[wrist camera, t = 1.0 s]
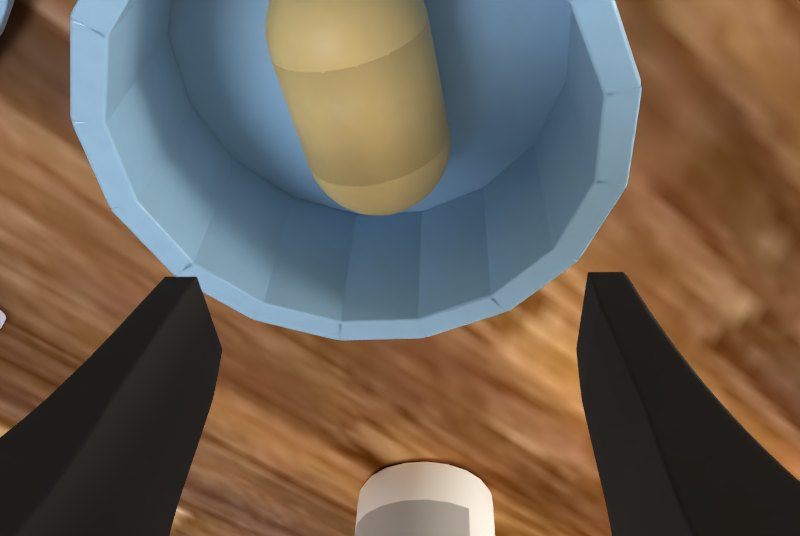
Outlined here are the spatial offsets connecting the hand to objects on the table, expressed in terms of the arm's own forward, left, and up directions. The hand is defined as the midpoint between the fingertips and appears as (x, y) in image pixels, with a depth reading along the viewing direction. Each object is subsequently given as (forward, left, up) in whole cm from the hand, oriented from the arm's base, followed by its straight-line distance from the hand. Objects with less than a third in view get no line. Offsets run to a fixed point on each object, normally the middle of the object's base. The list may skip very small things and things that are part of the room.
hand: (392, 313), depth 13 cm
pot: (-1, 0, -10) cm, 10 cm away
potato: (-1, 0, -9) cm, 10 cm away
